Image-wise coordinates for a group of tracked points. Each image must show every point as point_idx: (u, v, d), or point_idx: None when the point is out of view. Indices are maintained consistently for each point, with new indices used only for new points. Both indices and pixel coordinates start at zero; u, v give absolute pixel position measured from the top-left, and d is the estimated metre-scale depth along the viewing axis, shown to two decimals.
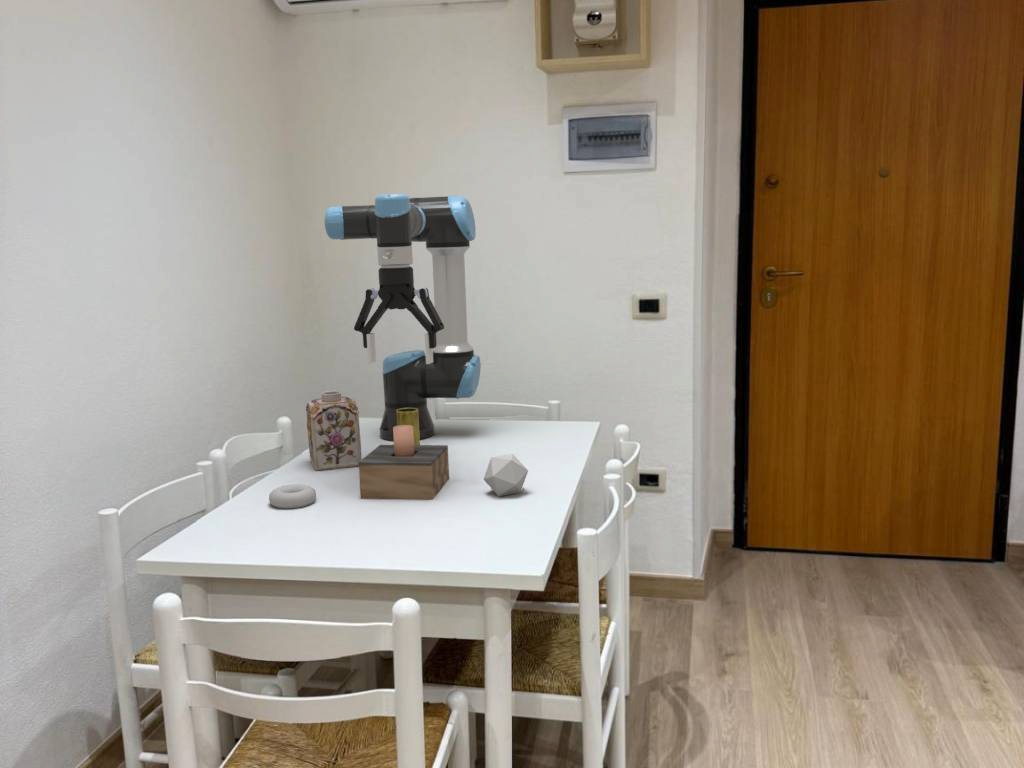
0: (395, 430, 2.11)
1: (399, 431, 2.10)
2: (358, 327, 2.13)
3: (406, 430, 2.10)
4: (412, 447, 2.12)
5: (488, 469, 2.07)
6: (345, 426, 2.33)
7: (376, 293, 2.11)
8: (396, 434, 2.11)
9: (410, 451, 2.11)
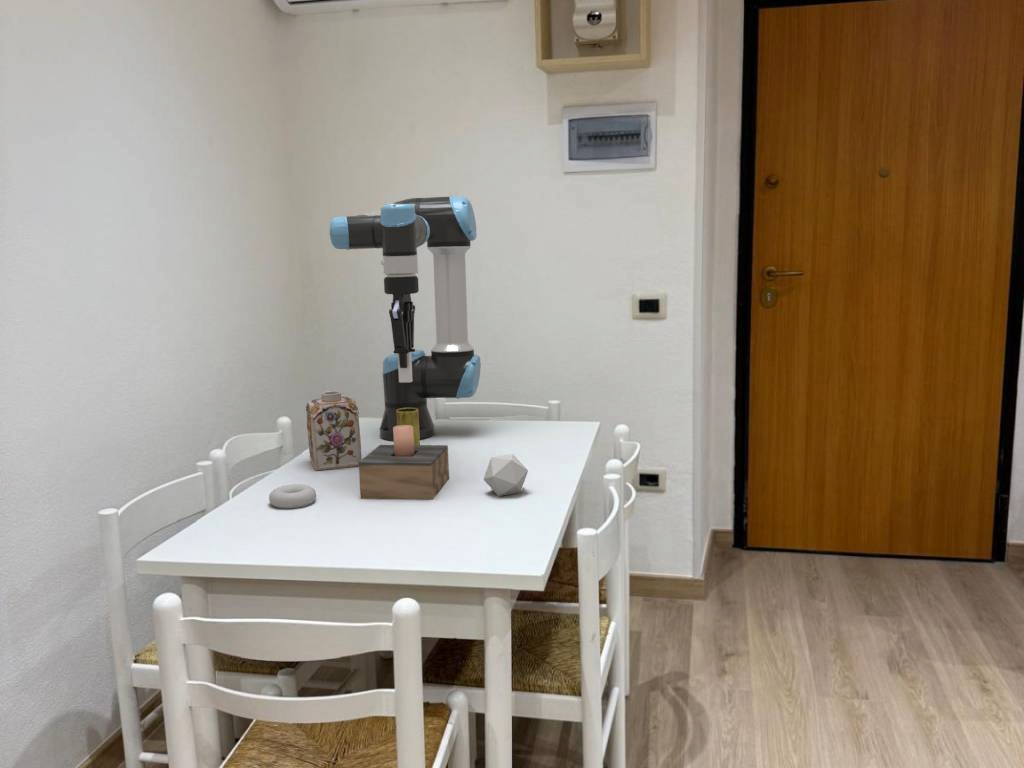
0: (395, 430, 2.11)
1: (399, 431, 2.10)
2: None
3: (406, 430, 2.10)
4: (412, 447, 2.12)
5: (488, 469, 2.07)
6: (345, 426, 2.33)
7: None
8: (396, 434, 2.11)
9: (410, 451, 2.11)
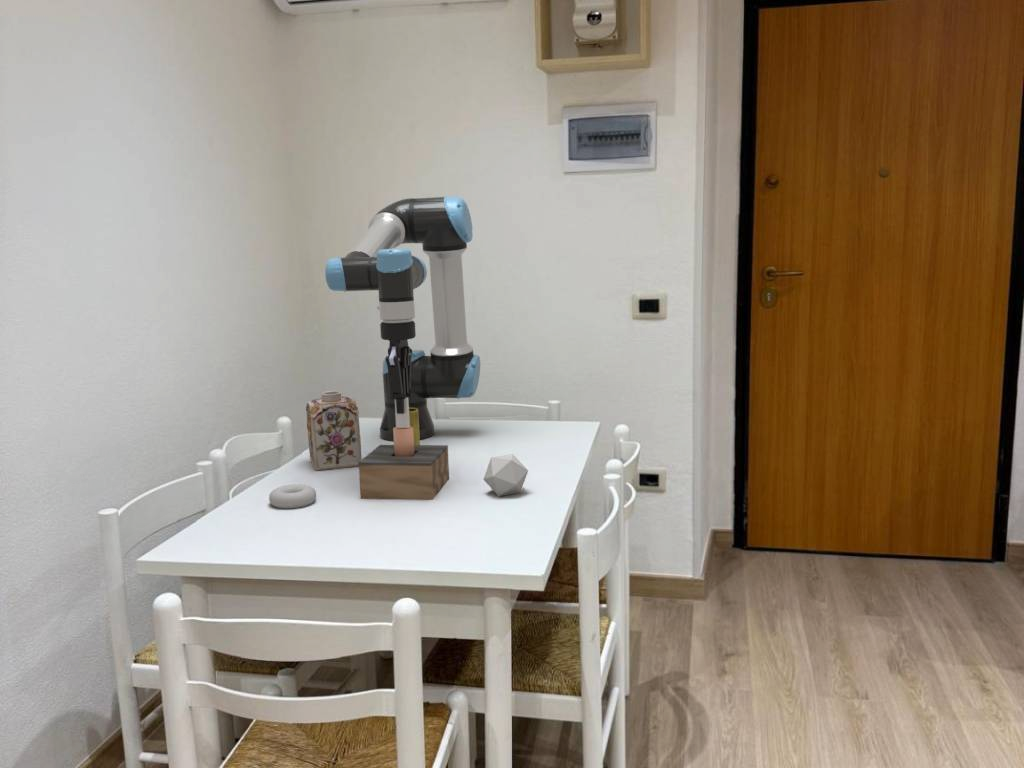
0: (395, 431, 2.11)
1: (399, 432, 2.10)
2: None
3: (406, 431, 2.10)
4: (412, 448, 2.12)
5: (488, 469, 2.07)
6: (345, 426, 2.33)
7: None
8: (396, 435, 2.11)
9: (410, 452, 2.12)
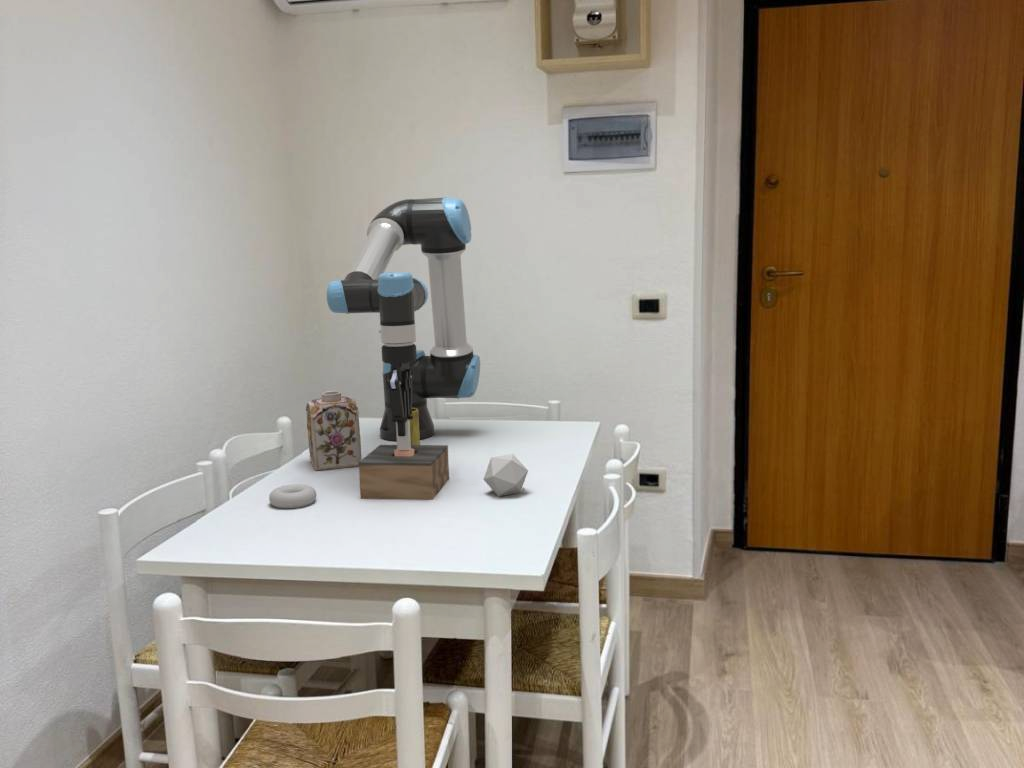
0: (396, 453, 2.12)
1: (400, 454, 2.11)
2: None
3: (407, 453, 2.11)
4: None
5: (488, 469, 2.07)
6: (345, 426, 2.33)
7: None
8: None
9: None
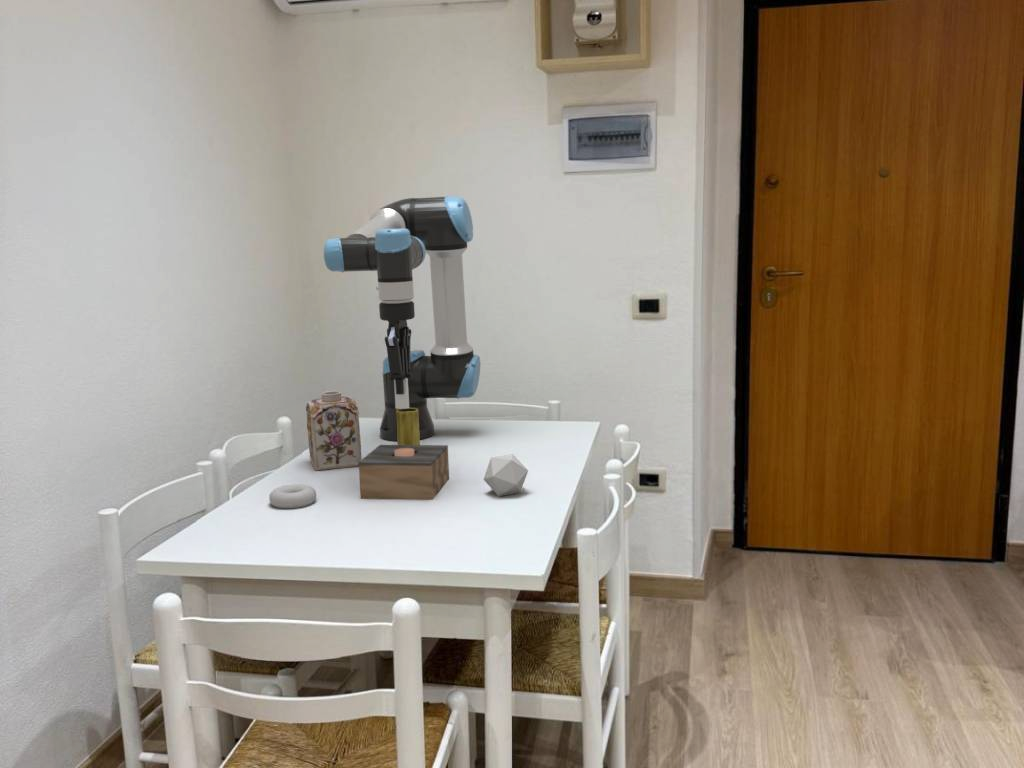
0: (396, 453, 2.12)
1: (400, 454, 2.11)
2: None
3: (407, 453, 2.11)
4: None
5: (488, 469, 2.07)
6: (345, 426, 2.33)
7: None
8: None
9: None
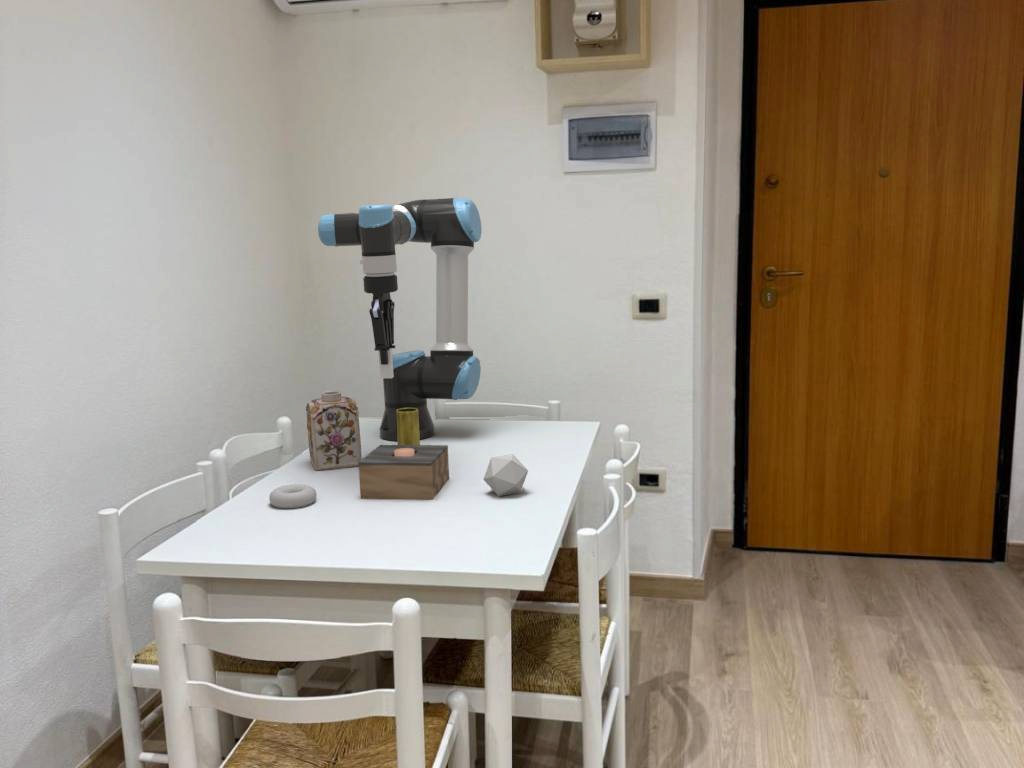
0: (396, 453, 2.12)
1: (400, 454, 2.11)
2: None
3: (407, 453, 2.11)
4: None
5: (488, 469, 2.07)
6: (345, 426, 2.33)
7: None
8: None
9: None
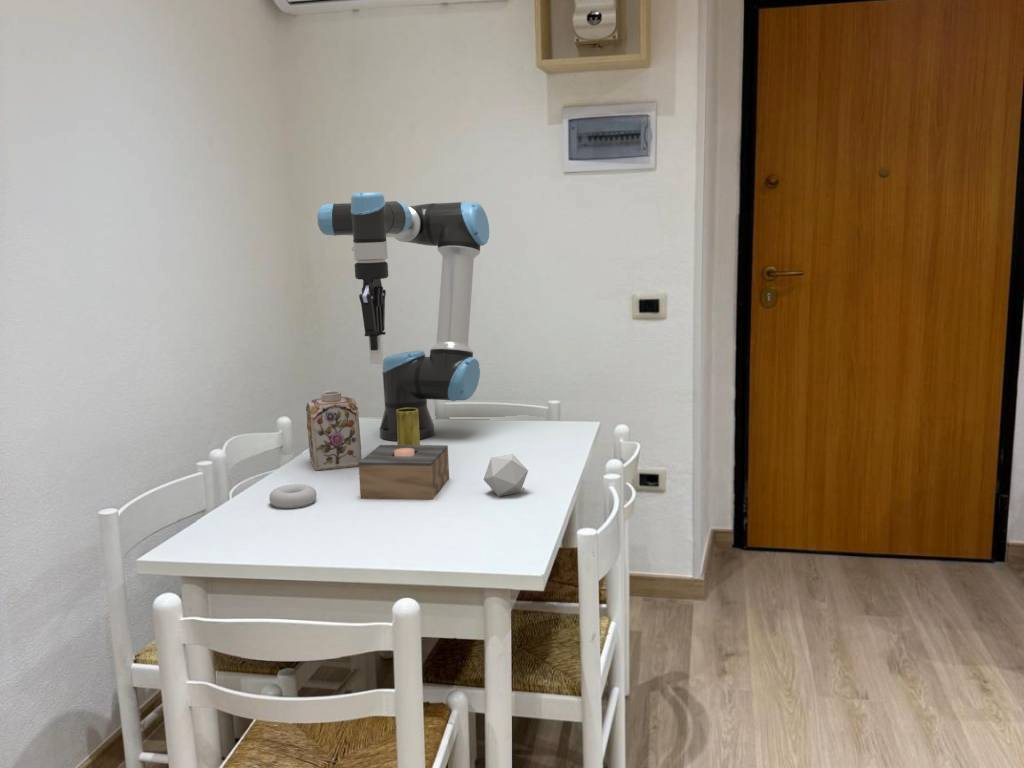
0: (396, 453, 2.12)
1: (400, 454, 2.11)
2: None
3: (407, 453, 2.11)
4: None
5: (488, 469, 2.07)
6: (345, 426, 2.33)
7: None
8: None
9: None
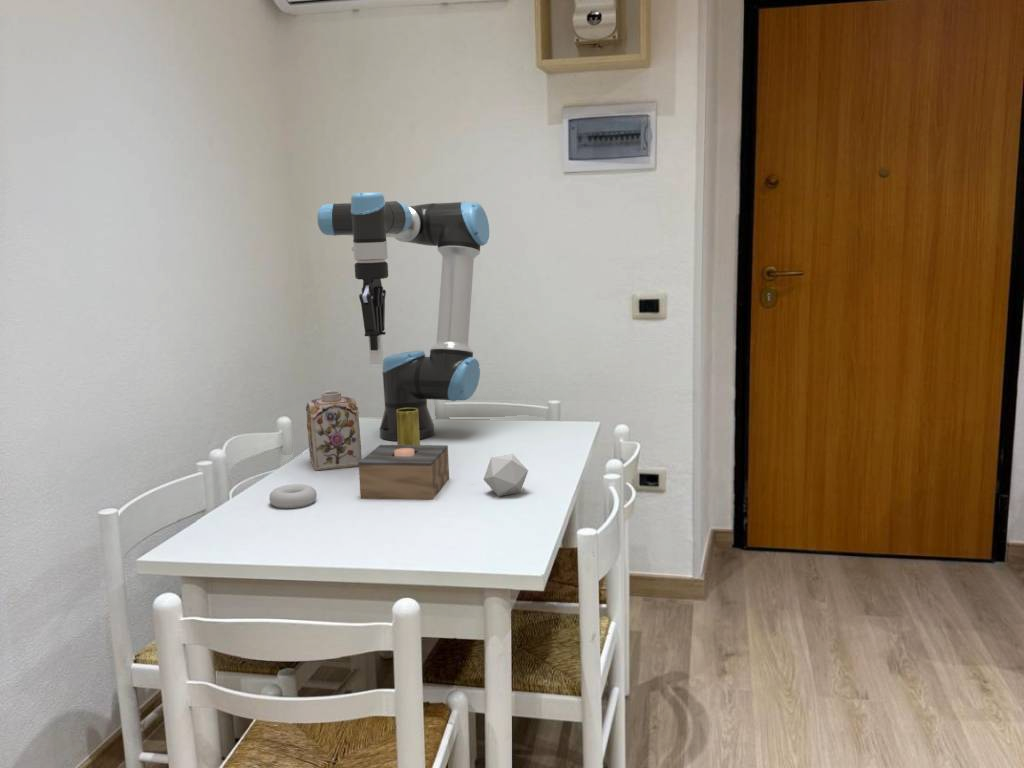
0: (396, 453, 2.12)
1: (400, 454, 2.11)
2: None
3: (407, 453, 2.11)
4: None
5: (488, 469, 2.07)
6: (345, 426, 2.33)
7: None
8: None
9: None
